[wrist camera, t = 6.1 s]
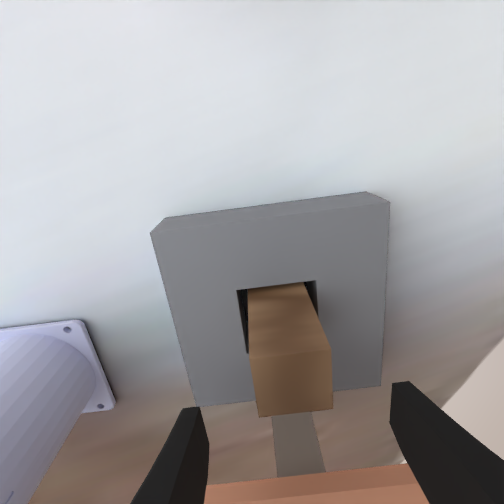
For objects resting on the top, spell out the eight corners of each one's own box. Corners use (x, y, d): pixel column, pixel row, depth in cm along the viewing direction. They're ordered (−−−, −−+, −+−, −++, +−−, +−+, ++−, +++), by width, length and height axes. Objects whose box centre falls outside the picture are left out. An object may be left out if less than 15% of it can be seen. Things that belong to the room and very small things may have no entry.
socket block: (208, 396, 22) (186, 557, 14) (165, 217, 17) (85, 297, 9) (362, 378, 22) (438, 531, 14) (366, 191, 17) (493, 245, 8)
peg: (253, 312, 20) (258, 417, 12) (247, 271, 19) (249, 359, 11) (299, 307, 20) (333, 409, 12) (296, 265, 19) (331, 349, 11)
